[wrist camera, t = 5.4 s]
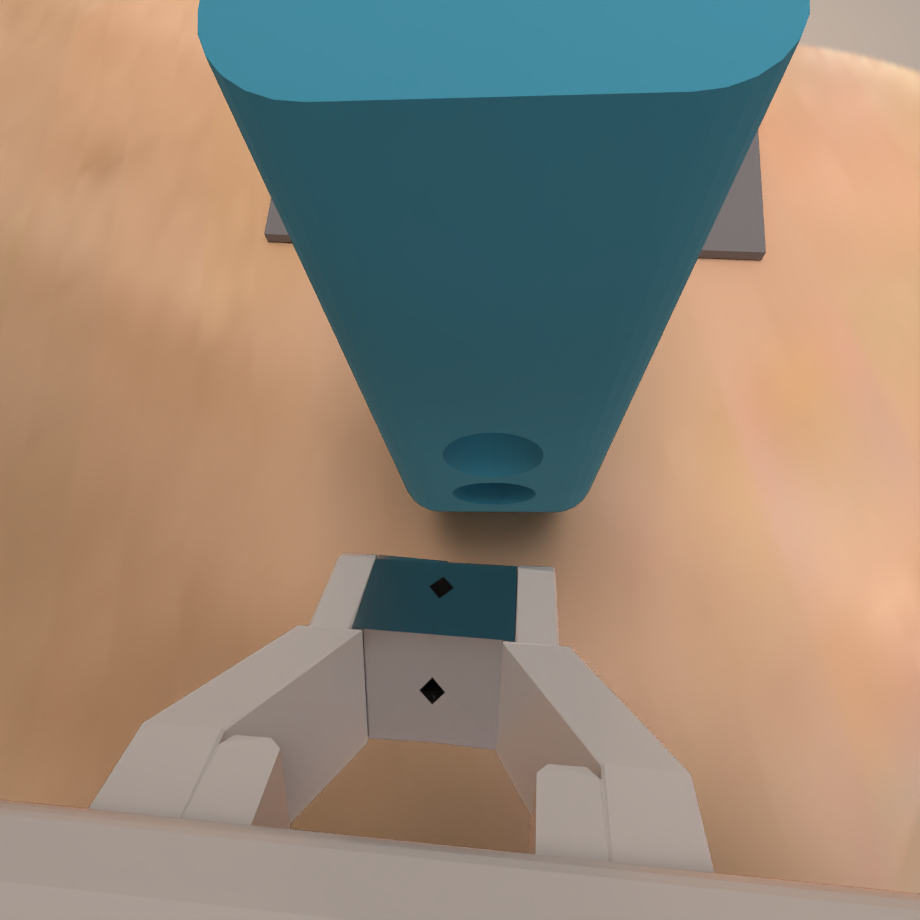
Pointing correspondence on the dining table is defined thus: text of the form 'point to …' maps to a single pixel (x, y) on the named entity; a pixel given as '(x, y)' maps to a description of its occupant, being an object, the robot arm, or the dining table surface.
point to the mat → (728, 238)
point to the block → (499, 205)
